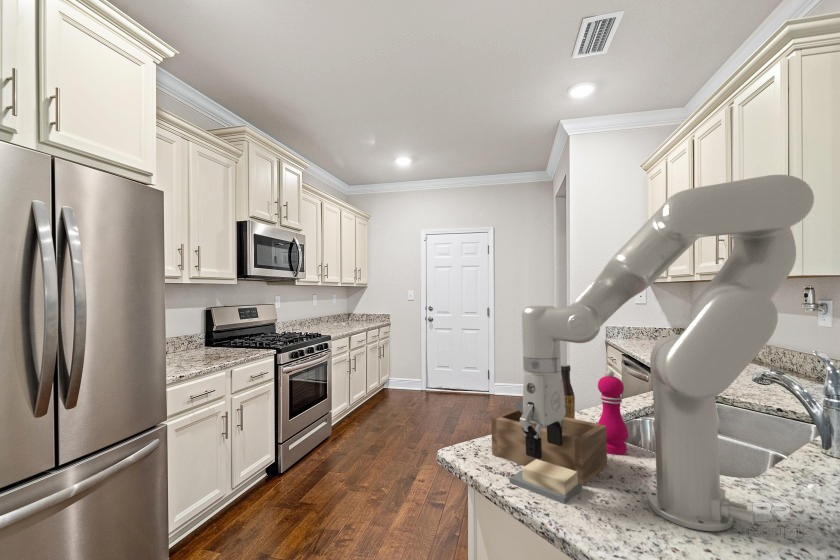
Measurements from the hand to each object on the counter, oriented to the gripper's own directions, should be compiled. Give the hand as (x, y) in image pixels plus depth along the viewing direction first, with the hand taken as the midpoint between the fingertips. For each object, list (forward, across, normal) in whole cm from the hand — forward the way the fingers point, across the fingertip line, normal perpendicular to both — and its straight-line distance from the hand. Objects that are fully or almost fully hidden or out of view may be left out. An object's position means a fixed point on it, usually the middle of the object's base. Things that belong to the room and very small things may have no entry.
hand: (544, 449), depth 80 cm
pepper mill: (+8, +29, -3) cm, 30 cm away
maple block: (+6, 0, -1) cm, 7 cm away
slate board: (+7, 0, 0) cm, 7 cm away
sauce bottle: (+8, +30, +10) cm, 32 cm away
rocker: (+1, +12, +6) cm, 14 cm away
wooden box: (+7, +12, +6) cm, 16 cm away
